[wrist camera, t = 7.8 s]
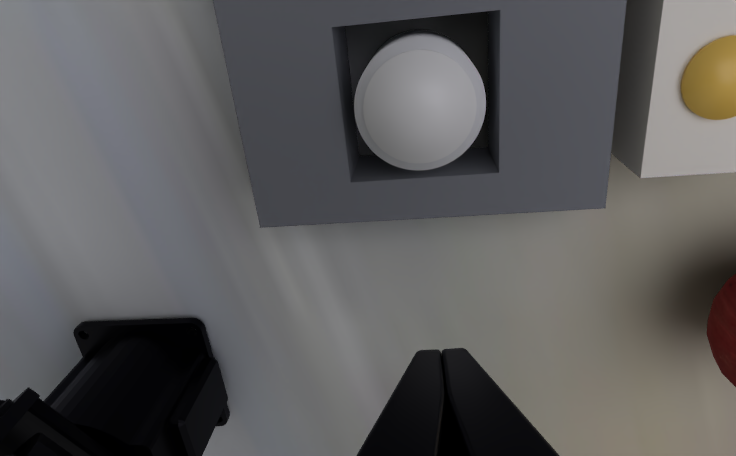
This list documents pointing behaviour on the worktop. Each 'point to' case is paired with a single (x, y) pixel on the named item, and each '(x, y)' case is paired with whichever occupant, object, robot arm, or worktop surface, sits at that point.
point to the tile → (677, 88)
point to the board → (467, 172)
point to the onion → (724, 329)
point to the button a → (420, 101)
